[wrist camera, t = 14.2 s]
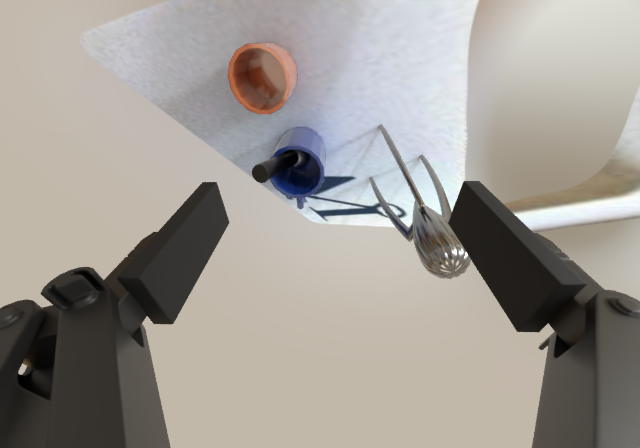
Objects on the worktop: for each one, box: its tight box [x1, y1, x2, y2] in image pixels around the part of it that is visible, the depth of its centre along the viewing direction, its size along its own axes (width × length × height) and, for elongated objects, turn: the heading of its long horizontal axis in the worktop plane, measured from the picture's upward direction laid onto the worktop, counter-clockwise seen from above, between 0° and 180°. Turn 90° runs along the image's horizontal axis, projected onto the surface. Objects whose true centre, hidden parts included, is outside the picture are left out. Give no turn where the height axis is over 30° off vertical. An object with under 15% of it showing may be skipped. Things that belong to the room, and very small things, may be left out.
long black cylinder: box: [252, 149, 310, 183], centre depth 39 cm, size 5×5×17 cm
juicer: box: [369, 124, 471, 279], centre depth 35 cm, size 10×11×30 cm
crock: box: [228, 43, 297, 114], centre depth 36 cm, size 8×8×9 cm
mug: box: [270, 127, 325, 209], centre depth 44 cm, size 13×9×10 cm
